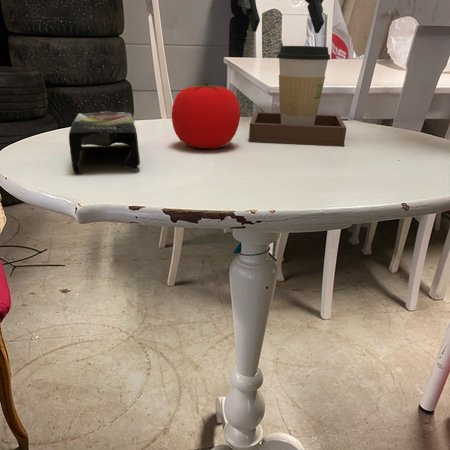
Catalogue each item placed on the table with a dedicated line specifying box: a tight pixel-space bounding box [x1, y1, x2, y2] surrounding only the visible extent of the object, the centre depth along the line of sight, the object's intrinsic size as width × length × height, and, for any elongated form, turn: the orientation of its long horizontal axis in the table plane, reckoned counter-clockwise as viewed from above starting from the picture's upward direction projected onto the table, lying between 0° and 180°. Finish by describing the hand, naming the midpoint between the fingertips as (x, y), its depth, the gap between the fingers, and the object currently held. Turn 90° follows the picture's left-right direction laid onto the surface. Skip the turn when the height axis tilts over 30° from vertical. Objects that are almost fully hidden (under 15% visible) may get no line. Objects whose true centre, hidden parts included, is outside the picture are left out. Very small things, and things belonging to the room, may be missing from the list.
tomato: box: [171, 81, 242, 150], centre depth 81 cm, size 12×12×10 cm
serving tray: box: [248, 111, 347, 147], centre depth 92 cm, size 18×15×3 cm
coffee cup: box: [276, 45, 331, 126], centre depth 89 cm, size 10×10×15 cm
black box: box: [68, 110, 141, 174], centre depth 73 cm, size 20×10×6 cm, turn 12°
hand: (288, 27), depth 91 cm, fingers open, 13 cm apart
